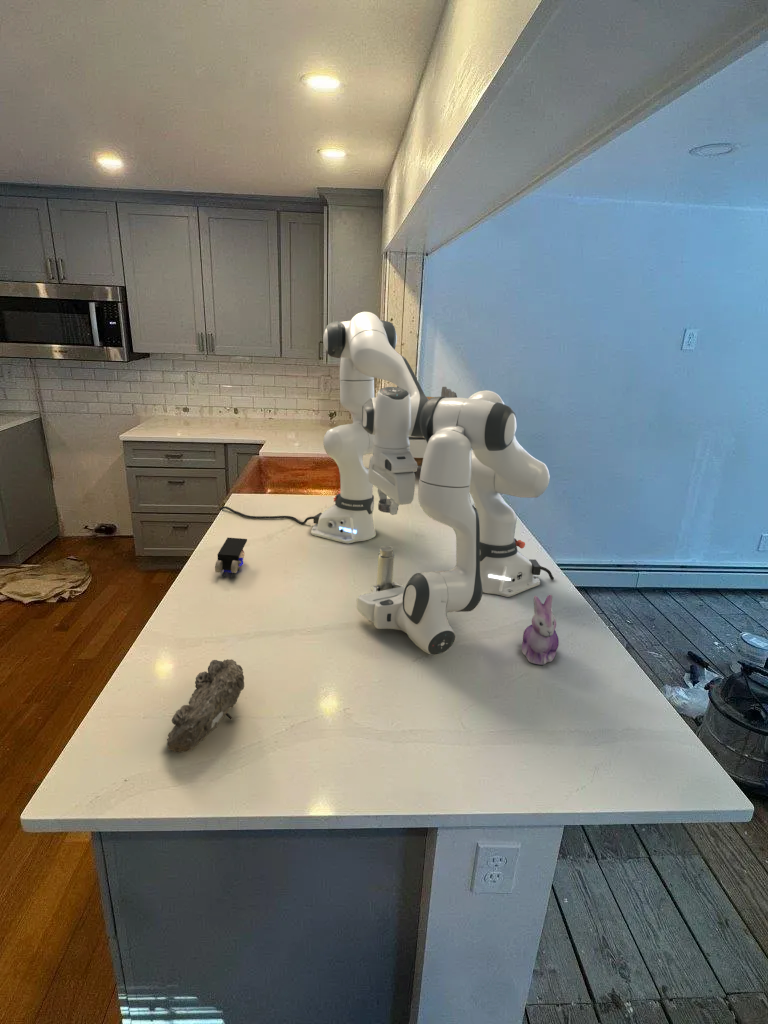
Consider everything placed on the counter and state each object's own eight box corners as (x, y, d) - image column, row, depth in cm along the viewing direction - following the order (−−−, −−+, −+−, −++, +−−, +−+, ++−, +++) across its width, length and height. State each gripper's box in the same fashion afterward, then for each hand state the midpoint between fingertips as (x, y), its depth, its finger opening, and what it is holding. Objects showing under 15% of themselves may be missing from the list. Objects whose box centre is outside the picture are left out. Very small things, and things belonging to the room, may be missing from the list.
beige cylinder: (382, 600, 154) (385, 544, 149) (394, 605, 152) (397, 548, 146) (372, 605, 151) (375, 548, 146) (384, 610, 149) (387, 553, 143)
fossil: (192, 660, 117) (244, 628, 112) (224, 691, 120) (276, 661, 115) (142, 746, 98) (202, 712, 93) (182, 779, 101) (242, 748, 96)
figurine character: (238, 584, 162) (249, 557, 175) (236, 562, 158) (247, 536, 172) (215, 584, 161) (227, 556, 175) (212, 561, 158) (225, 535, 171)
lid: (383, 513, 139) (383, 505, 139) (375, 507, 143) (375, 499, 143) (401, 511, 141) (401, 504, 140) (392, 505, 145) (393, 497, 145)
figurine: (539, 671, 126) (548, 612, 121) (509, 647, 135) (517, 591, 130) (570, 661, 130) (580, 603, 125) (539, 638, 139) (548, 583, 134)
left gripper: (363, 447, 145) (361, 498, 150) (396, 468, 128) (393, 525, 132) (385, 445, 148) (383, 496, 152) (421, 466, 130) (417, 522, 135)
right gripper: (444, 591, 142) (417, 569, 154) (371, 607, 133) (348, 582, 145) (442, 613, 145) (415, 590, 156) (370, 630, 136) (347, 604, 147)
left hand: (388, 510), depth 142 cm, fingers closed on lid, 4 cm apart
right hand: (382, 586), depth 150 cm, fingers closed on beige cylinder, 4 cm apart
